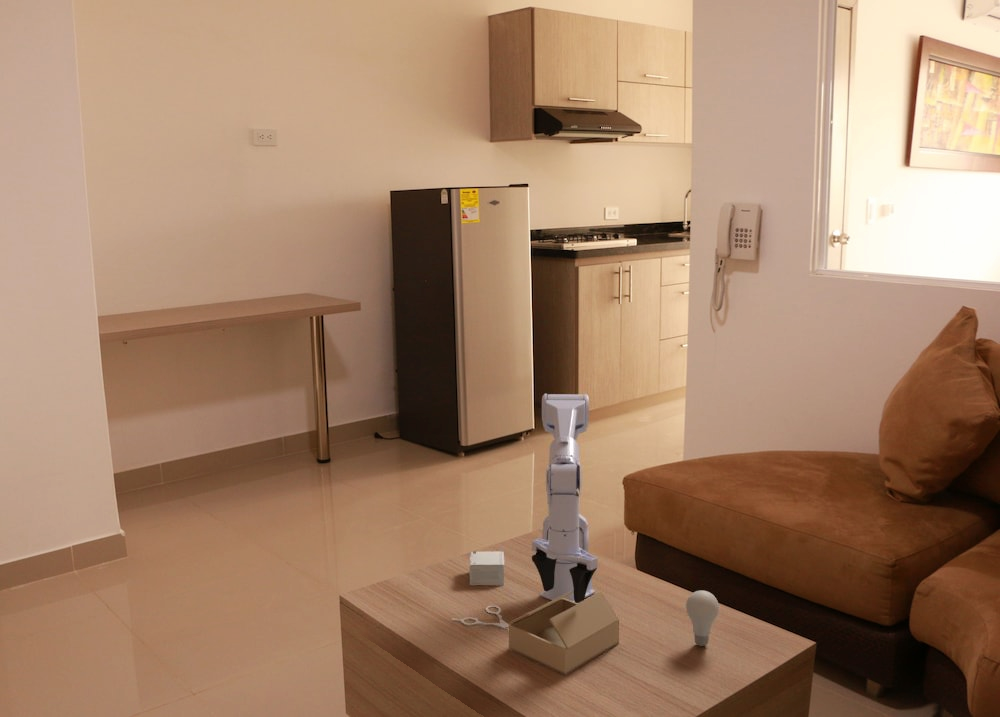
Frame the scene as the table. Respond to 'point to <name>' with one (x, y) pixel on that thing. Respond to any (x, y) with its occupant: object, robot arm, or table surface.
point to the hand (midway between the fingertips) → (563, 595)
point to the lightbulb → (702, 614)
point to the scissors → (501, 624)
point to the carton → (557, 640)
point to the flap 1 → (542, 606)
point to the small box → (487, 568)
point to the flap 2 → (583, 620)
